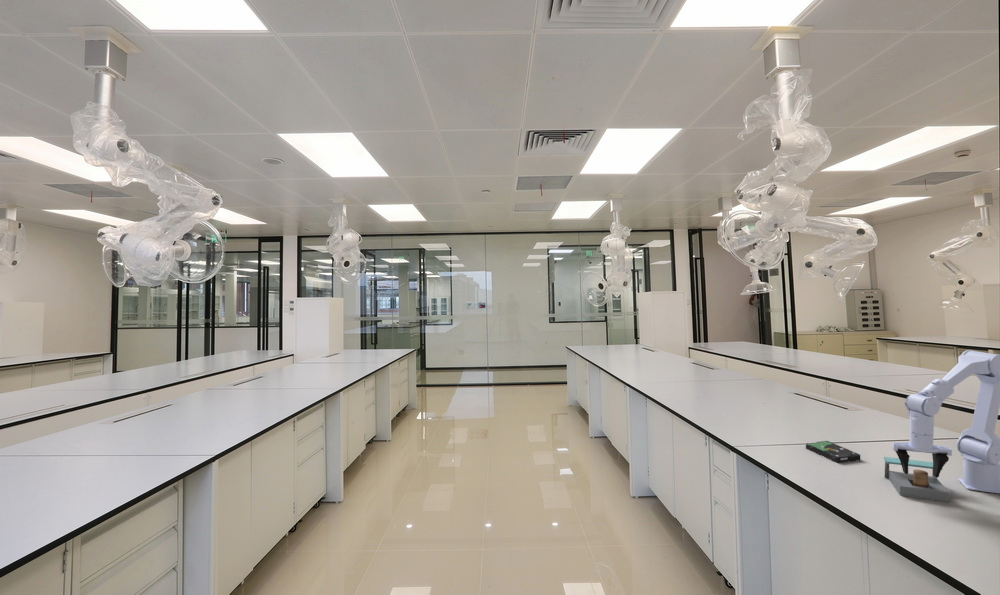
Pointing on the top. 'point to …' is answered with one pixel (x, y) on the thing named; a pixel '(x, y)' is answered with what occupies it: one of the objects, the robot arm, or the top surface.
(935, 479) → the socket block
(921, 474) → the peg
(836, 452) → the disk drive
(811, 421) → the top surface
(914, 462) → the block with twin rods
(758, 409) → the top surface
